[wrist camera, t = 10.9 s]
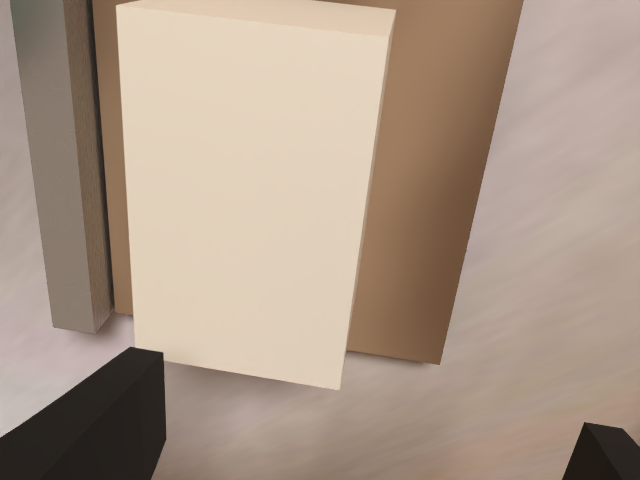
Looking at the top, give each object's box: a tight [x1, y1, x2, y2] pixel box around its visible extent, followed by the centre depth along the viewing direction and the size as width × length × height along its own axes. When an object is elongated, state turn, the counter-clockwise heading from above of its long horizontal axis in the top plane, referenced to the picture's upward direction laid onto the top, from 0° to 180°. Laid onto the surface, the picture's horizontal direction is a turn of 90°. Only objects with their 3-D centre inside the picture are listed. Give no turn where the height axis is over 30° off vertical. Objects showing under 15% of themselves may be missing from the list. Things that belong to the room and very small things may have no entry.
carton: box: [116, 0, 396, 390], centre depth 15 cm, size 8×5×5 cm, turn 175°
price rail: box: [10, 0, 115, 334], centre depth 17 cm, size 2×13×2 cm, turn 175°
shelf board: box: [92, 0, 524, 365], centre depth 18 cm, size 11×13×1 cm
